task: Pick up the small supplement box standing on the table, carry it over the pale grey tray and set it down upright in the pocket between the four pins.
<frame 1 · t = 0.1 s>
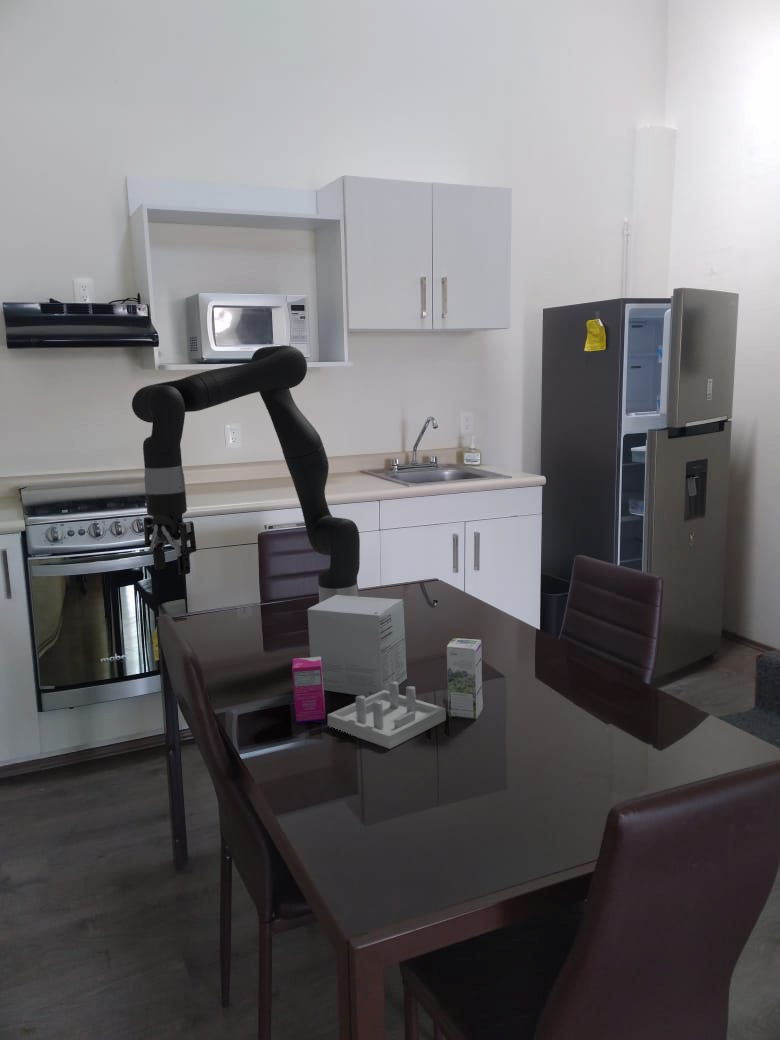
hand: (172, 571, 164), 29 cm above the table, tool pointing down, fingers open, 8 cm apart
tray: (387, 723, 160), on the table
supplement box 2: (359, 685, 181), on the table
supplement box: (310, 718, 164), on the table
syrup box: (465, 714, 163), on the table
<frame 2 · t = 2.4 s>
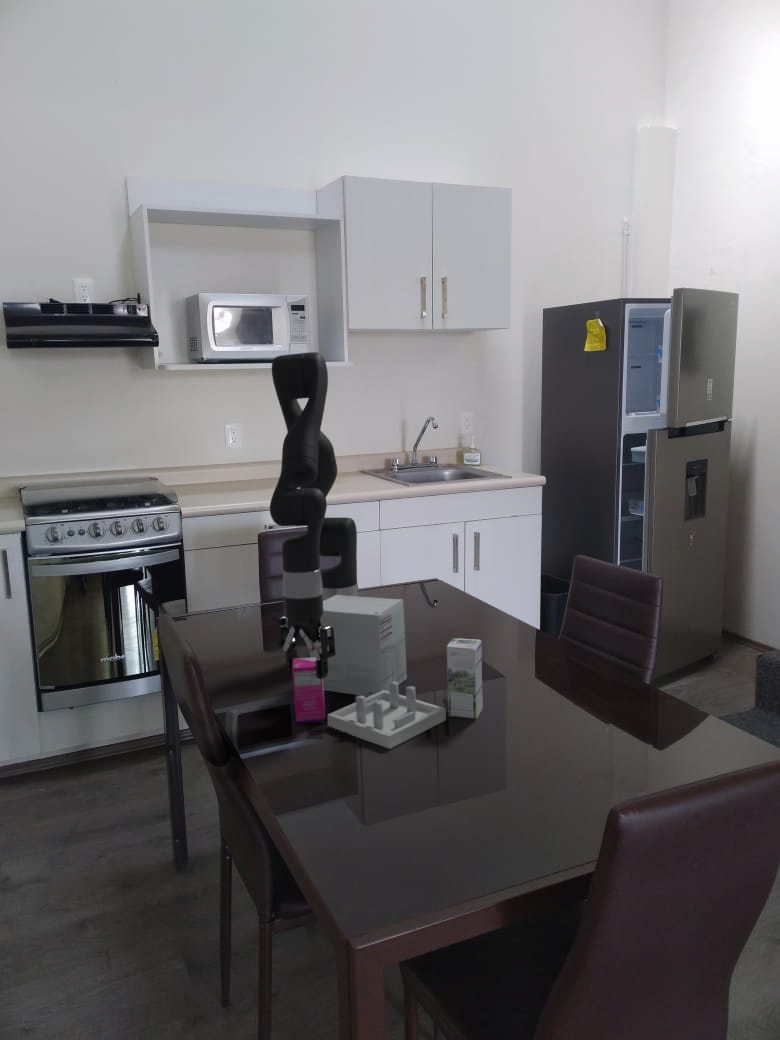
hand: (306, 673, 162), 9 cm above the table, tool pointing down, fingers open, 8 cm apart
nothing on the table moved.
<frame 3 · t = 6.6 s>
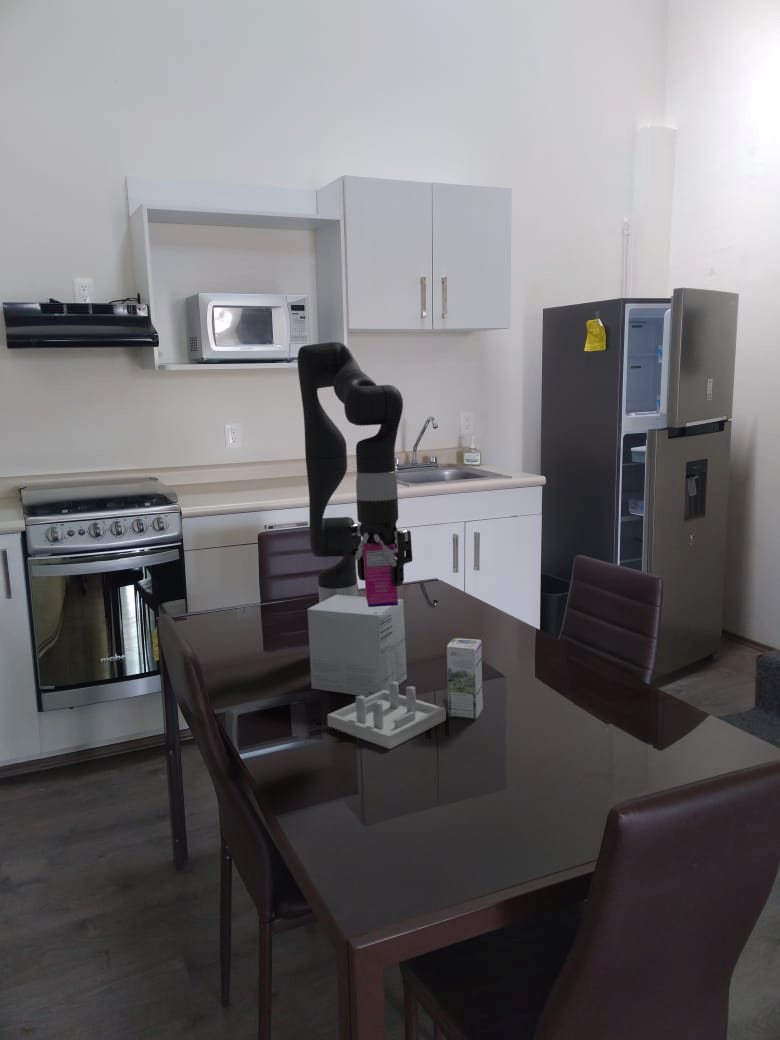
hand: (380, 582, 155), 28 cm above the table, tool pointing down, fingers closed on supplement box, 8 cm apart
supplement box: (381, 603, 156), point 24 cm above the table, touching gripper
everything else where it was.
when the fingers open (6 cm above the table, at t = 9.8 s): supplement box drops 1 cm, resting on tray.
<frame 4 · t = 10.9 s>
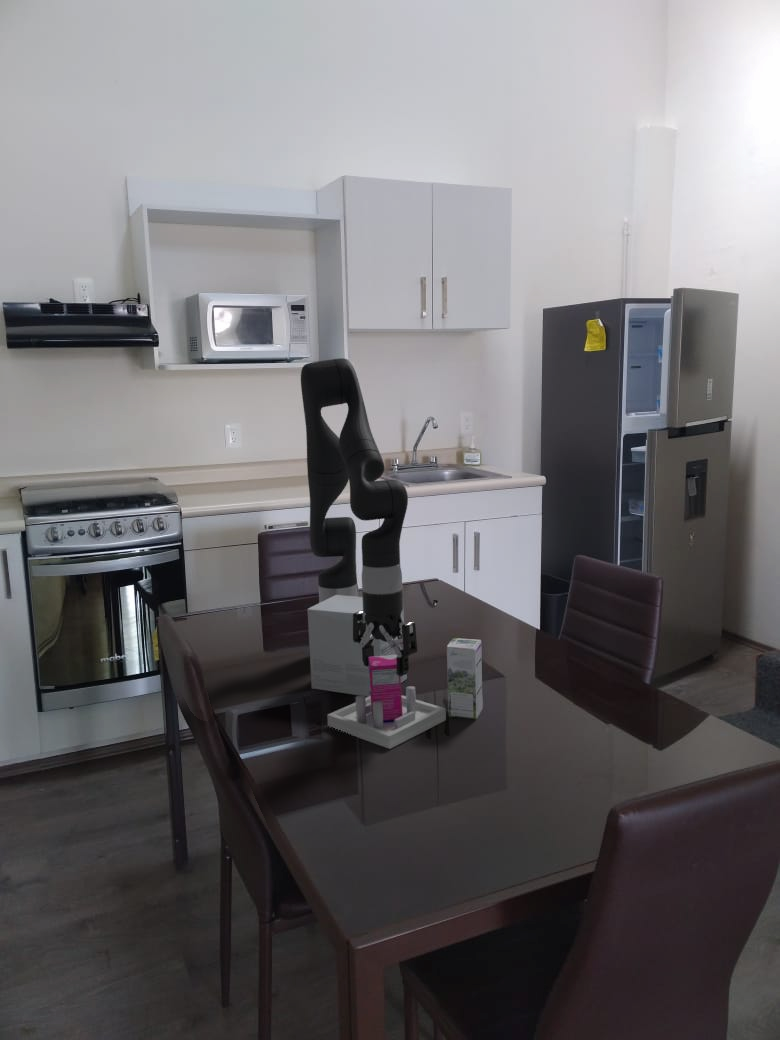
hand: (385, 669, 158), 11 cm above the table, tool pointing down, fingers open, 8 cm apart
supplement box: (386, 718, 160), point 1 cm above the table, touching tray
everything else where it was.
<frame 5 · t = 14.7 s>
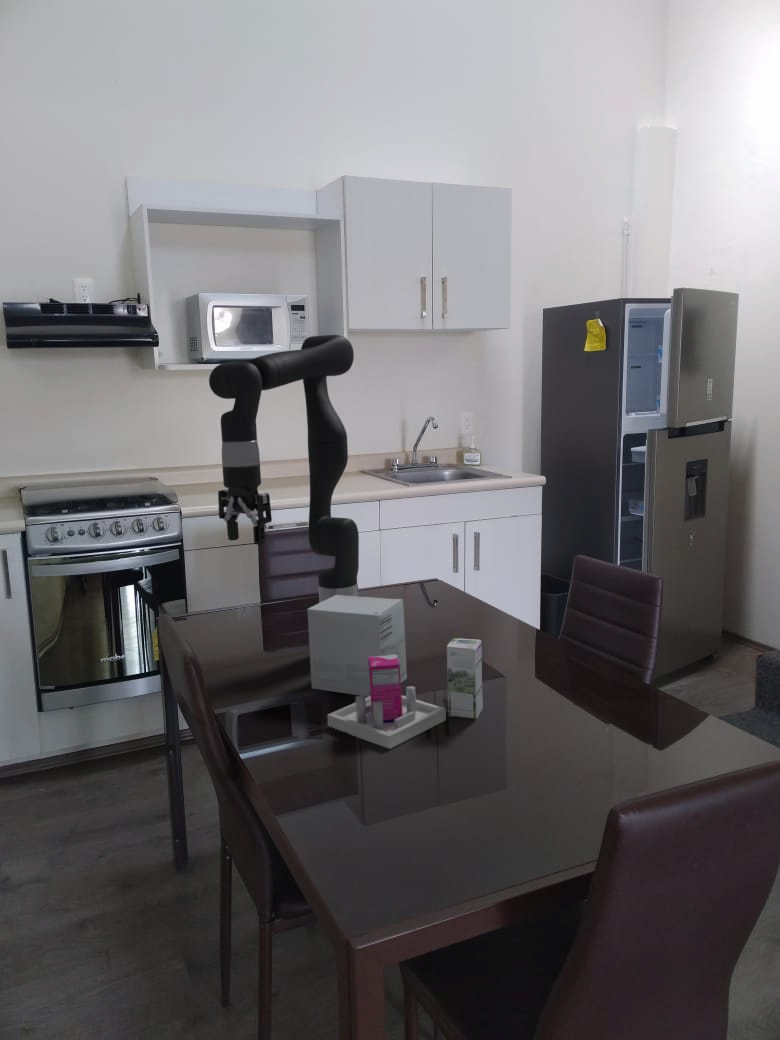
hand: (246, 541, 171), 33 cm above the table, tool pointing down, fingers open, 8 cm apart
nothing on the table moved.
at the end: supplement box 0.1 cm off-centre on the tray, point 1.0 cm above the tray's base; supplement box tilted 0°; the gripper is holding nothing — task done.
